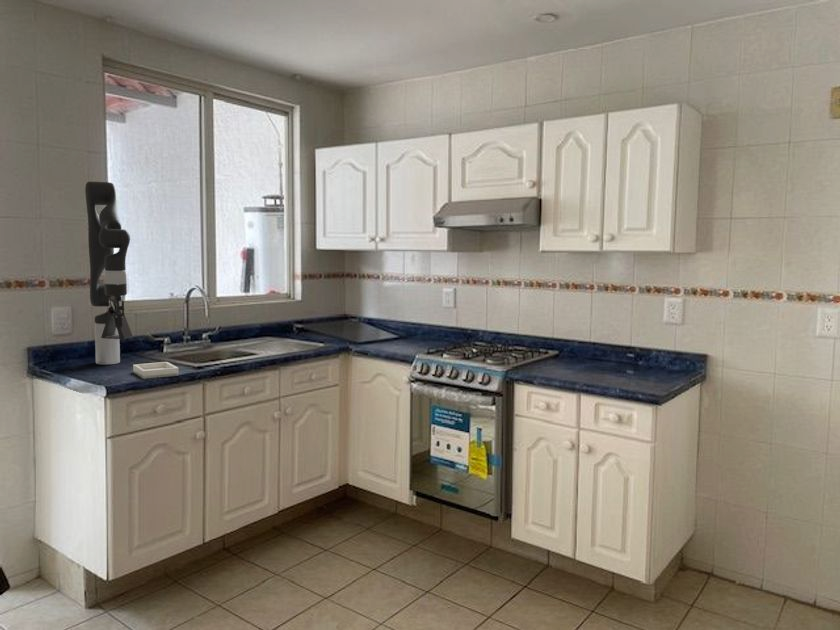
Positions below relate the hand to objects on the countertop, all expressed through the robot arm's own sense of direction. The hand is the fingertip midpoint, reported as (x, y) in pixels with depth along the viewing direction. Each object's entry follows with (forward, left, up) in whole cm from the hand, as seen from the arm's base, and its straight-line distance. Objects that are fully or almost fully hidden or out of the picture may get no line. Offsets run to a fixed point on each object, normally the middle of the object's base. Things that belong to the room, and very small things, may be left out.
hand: (116, 326), depth 242 cm
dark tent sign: (0, 0, -4) cm, 4 cm away
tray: (+2, +13, -19) cm, 24 cm away
